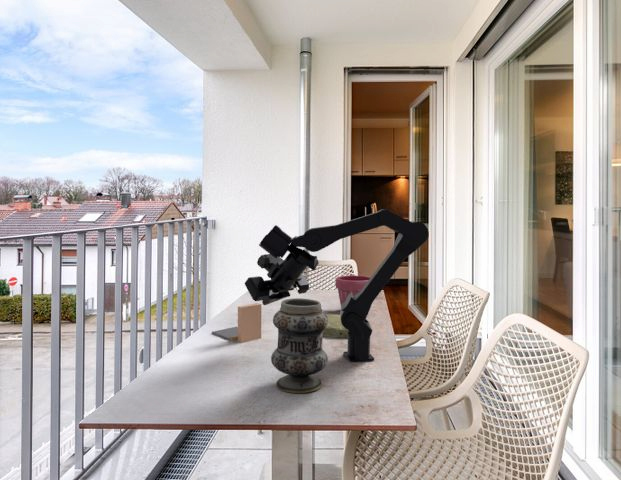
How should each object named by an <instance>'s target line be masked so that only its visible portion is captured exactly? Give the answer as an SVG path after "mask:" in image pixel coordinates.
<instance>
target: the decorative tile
mask: <svg viewBox="0 0 621 480" xmlns="http://www.w3.org/2000/svg"><path fill="white" fill-rule="evenodd" d="M325 314H326V315H327V317H328V325H327V326H326V328H325V329H323V335H322V336H323V337H324V336H325V337H328V338H329V337H333V338H347V339H348V332H349V330H348V329H346V328H345V327H344V326H343V325H342V323H341V318H340V314H331V313H325Z"/></svg>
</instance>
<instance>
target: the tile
mask: <svg viewBox="0 0 621 480" xmlns="http://www.w3.org/2000/svg"><path fill="white" fill-rule="evenodd" d="M237 327H238V340H237V342H238V343H241V344H243V343H246V342H251V341H256V340H258V339H262V304H261V303H258V302H256V303H250V304H244V305H238V306H237Z"/></svg>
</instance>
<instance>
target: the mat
mask: <svg viewBox="0 0 621 480" xmlns="http://www.w3.org/2000/svg"><path fill="white" fill-rule="evenodd" d="M211 334H213V335H215V336H217V337H221V338H222V339H226V340H229V341H230V337H231V336H235V335H238V326H232V327H228V328H224V329H219V330H214V331H213V330H212V331H211Z"/></svg>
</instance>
